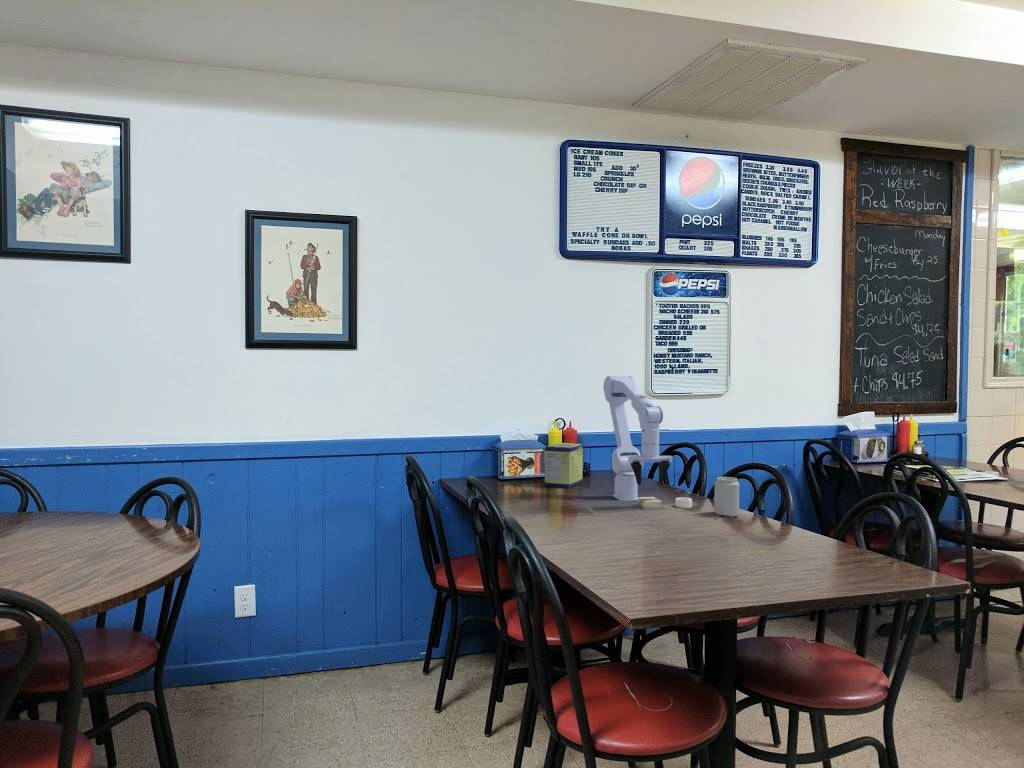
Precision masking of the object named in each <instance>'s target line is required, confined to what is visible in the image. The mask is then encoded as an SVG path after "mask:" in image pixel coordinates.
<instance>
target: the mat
mask: <svg viewBox="0 0 1024 768" xmlns="http://www.w3.org/2000/svg"><path fill="white" fill-rule="evenodd" d="M630 504H631V505H633V506H634V507H636V508H637V509H639V510H641V511H651V510H653V511H655V510H657V511H658V510H668V508H667V507H666V506H663V505H662V509H645V508H643V507H641V506H640V505H638V501H637V502H630Z"/></svg>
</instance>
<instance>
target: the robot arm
mask: <svg viewBox="0 0 1024 768" xmlns="http://www.w3.org/2000/svg"><path fill="white" fill-rule="evenodd" d="M635 381H636V380H635V379H634V378H633V376H632V375H626V376H624V375H623V376H622V375H621V376H620V375H619V376H618V375H617V376H616V375H615V376H611V375H607V376H605V378H604V381H603V387H602V388H603V393H604V398H605V401H606V402H608V403H609V405H608V406H609V410H610V414H611V419H612V425H613V430H614V434H615V441H616V446H617V447H616V449H615V450H614V451H613V452H612V454H611V468H612V470H613V472H614V473H615V474H616V475H615V478H614V494H611V496H612V497H614V498H616V499H617V500H619V501H635V500H636V501H638V496H639V495H638V494H639V493H638V490H639V489H638V486H641V485H642V470H643V469H644V463H657V466H658V484H660V485H663V484H664V482H665V481H664V480H665V477H666V474H667V472H668V470H669V468H670V466H671V463H672V462H673V456H672V455H660V424H661V423H662V422H663V419H664V413H663V412H664V411H663V409H662V407H660V406H659V405H658V406H656V405H654V404H653V403H652V402H651V401H650V400H649V399H648V397H647V396H646V394H641V393H639V391H638V389H637V388H636V383H635ZM629 400H630V401H631V402H630V404H631V407H632V408H633V410H634V411H635V412H636V413H637V415H638V421H639V428H640V430H641V453H640V450H639V449H638V448H637V447H636V446H634V445H633V443H632V440H631V434H630V430H629V422H628V418H627V414H626V413H627V412H626V409H625V403H626V402H628V401H629Z"/></svg>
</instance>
